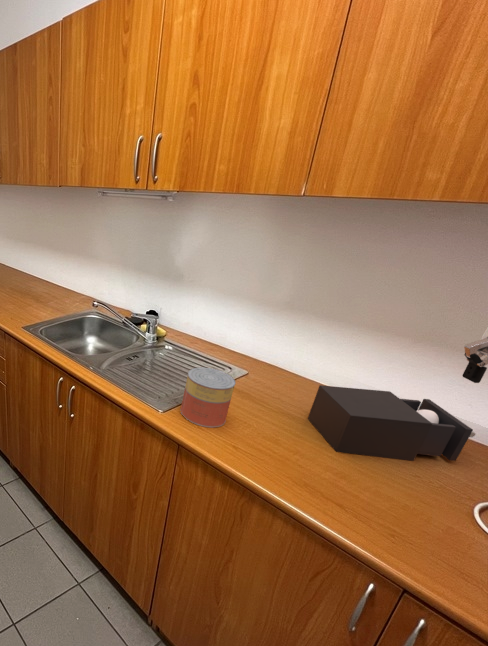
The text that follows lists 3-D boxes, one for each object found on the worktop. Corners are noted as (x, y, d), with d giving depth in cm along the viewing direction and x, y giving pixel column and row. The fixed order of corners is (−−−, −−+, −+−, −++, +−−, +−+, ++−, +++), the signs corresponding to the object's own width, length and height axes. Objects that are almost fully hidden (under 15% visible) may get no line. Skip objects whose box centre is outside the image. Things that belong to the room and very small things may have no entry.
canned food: (234, 419, 107) (245, 381, 103) (207, 432, 102) (217, 393, 98) (197, 399, 116) (205, 363, 112) (171, 410, 112) (178, 373, 107)
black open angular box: (433, 430, 100) (448, 400, 97) (476, 463, 89) (495, 432, 86) (349, 421, 104) (360, 392, 101) (380, 452, 93) (395, 421, 90)
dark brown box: (375, 425, 104) (390, 391, 100) (413, 461, 92) (432, 423, 88) (307, 418, 107) (319, 385, 103) (335, 451, 95) (350, 415, 91)
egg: (400, 429, 95) (426, 407, 92) (391, 423, 100) (416, 401, 97) (424, 444, 93) (452, 422, 90) (414, 437, 98) (440, 415, 95)
